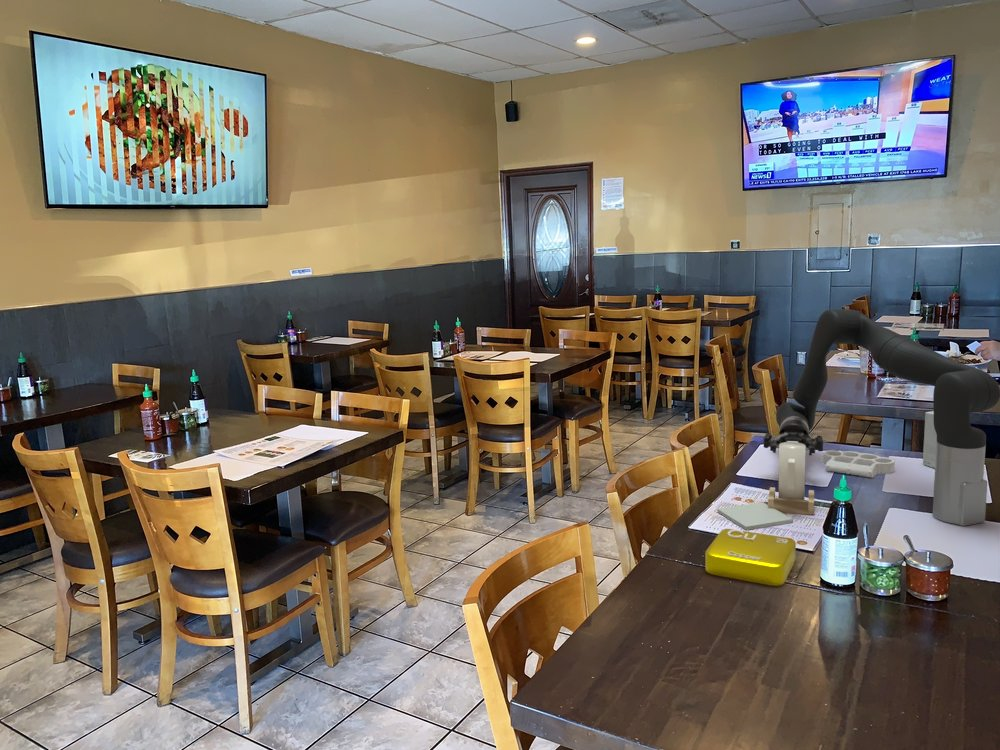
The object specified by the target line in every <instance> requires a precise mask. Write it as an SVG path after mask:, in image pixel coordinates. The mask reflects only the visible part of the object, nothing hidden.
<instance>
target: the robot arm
mask: <svg viewBox="0 0 1000 750" xmlns="http://www.w3.org/2000/svg"><path fill="white" fill-rule="evenodd" d="M846 344H847V345H848V344H849V345H853V346H854V345H855V346H858V347H861V348H863V349H864V350H867V351H868V352H870V356H871V359H872V360H873V362H874V363H875V365H877V366H878V367H880V368H881V369H882V370H884V371H886V373H887V372H888V373H889V374H891V375H893V376H895V377H898V378H899V379H902V380H906V381H910V382H915V383H919V384H924V385H928V386H934V387H933V396H932V397H933V398H932V399H933V401H932V402H933V405H932V406H933V410H932V411H933V412H934V428H935V431H936V434H937V442H936V459H935V468H934V482H933V501H932V504H933V505H932V516H933V517H934V518H936V519H937V520H939V521H942V522H945V523H951V524H955V525H958V526H961V527H964V526H970V525H975V524H976V525H977V524H981V523H985V522H986V508H987V507H986V506H987V495H988V481H987V480H986V479H984V475H985V461H986V459H985V457H986V447H987V434H986V432H985V431H984V430H983V429H980V428H978V427H974V426H971V419H970V418H971V417H970V416H971V415H970V414H972V413H978V412H984V411H987V410H989V409H992V408H994V407H995V406H996V405H997V404H998V403H999V401H1000V386H999V384H998V382H997V380H996V379H995V377H993V376H992V375H991V374H990V373H988V372H986V371H984V370H982V369H980V368H977V367H974V366H971V365H968V364H965V363H962V362H959V361H956V360H953V359H952V358H949V357H947V356H945V355H943V354H941V353H939V352H937V351H936V350H933V349H931V348H929V347H926V345H925V346H924V345H922V344H920V343H919V342H917V341H915V340H914V339H911V338H909V337H907V336H905V335H902V334H900V333H898V332H896V331H894V330H891V329H889V328H886V327H885V326H882V325H880V324H879V323H877V322H875V321H874V320H873V319H871V318H870V317H868V316H866V315H865V314H864V313H862V312H861V311H858V310H854V309H845V308H844V309H843V308H842V309H841V308H838V309H837V308H835V309H834V308H831V309H826V310H825V311H823V312H822V313H821V314H820V316H819V317H818V320H817V322H816V324H815V327H814V332H813V335H812V338H811V343H810V346H809V351H808V354H807V359H806V362H805V365H804V368H803V370H802V373H801V375H800V377H799V379H798V381H797V384H796V386H795V388H794V390H793V393H792V398H793V400H795V402H796V403H798V404H795V403H793V402H783V403H781V405H779V406H778V407H777V410H776V414H775V420H776V423H777V425H778V426H779V430H778V434H777V435H773V434H772V433H770V432H766V433H765V435H764V437H763V448H764V449H768V448H769V451H771V452H772V453H775V454H776V452H777V449H778V450H779V444H780V443H784V442H787V441H797V442H798V443H802V444H804V445H805V452H806V451H808V455H809V456H812V455H813V454H815V453H816V451H818V452H824V440H823V436H822V435H817V436H815V437H814V438H813V437H811V436H810V431H811V430H812V429H813V428H814V426H815V421H816V411H817V406H818V403H819V400H820V398H821V396H822V394H823V392H824V390H825V389H826V386H827V385H828V384H827V383H828V379H829V375H828V367H827V361H826V360H827V355H828V352H829V351H830V350H831V348H832V346H833V345H846Z"/></svg>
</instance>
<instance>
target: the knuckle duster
mask: <svg viewBox="0 0 1000 750" xmlns="http://www.w3.org/2000/svg"><path fill="white" fill-rule="evenodd" d="M822 457H823V459H822V461H823V462H822V463H824V464H823V465H824V466H825V471H827V472H830V471H831V472H833V473H834V472H835V473H840V474H845V473H846V475H849V474H851V476H857V475H858V477H865V478H869V477H870V478H871V479H873V478H874V477H875V476H876V475H880V474H882V475H883V474H884V475H889V474H893V473H895V467H896V464H895V463H896V461H895V460H894V459H893V458H890V457H886V456H879V455H877V454H874V453H873V454H872V453H870V452H869V453H865V452H860V451H854V450H853V451H850V450H848V451H847V450H845V451H841V450H835V449H832V450H831V449H829V450H825V451H823V456H822Z"/></svg>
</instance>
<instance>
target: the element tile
mask: <svg viewBox="0 0 1000 750" xmlns="http://www.w3.org/2000/svg"><path fill="white" fill-rule="evenodd" d="M796 545H797V542H796V541H795V540H794V539H793V538H791V537H784V536H779V535H773V534H771V535H770V534H765V533H761V532H760V533H759V532H752V531H748V530H739V529H733V528H725V529H723V530H721V531H720V532H719V533H718V534H717V536H716V537H715V538H714V539H713V541H712V543H711V544H709V546H708V548H706V550H705V555H704V556H705V564H704V565H705V567H704V568H705V572H706V573H708V574H710V575H714V576H718V577H723V578H730V579H735V580H739V581H746V582H751V583H756V584H762V585H768V586H777V587H779V586H782V585H784V584H785V583H786V581H787V579H788V577H789V574H790V572H791V570H792V568H793V566H794V564H795V562H796V551H797V550H796V547H797V546H796Z"/></svg>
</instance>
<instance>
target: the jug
mask: <svg viewBox="0 0 1000 750" xmlns="http://www.w3.org/2000/svg"><path fill="white" fill-rule="evenodd" d="M805 481H806V451H805V445H804V444H802V443H798V442H797V441H787V442H784V443H780V444H779V449H778V498H784V499H797V500H805V497H806V496H805V493H806V492H805V491H806V490H805V489H806V482H805Z"/></svg>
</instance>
